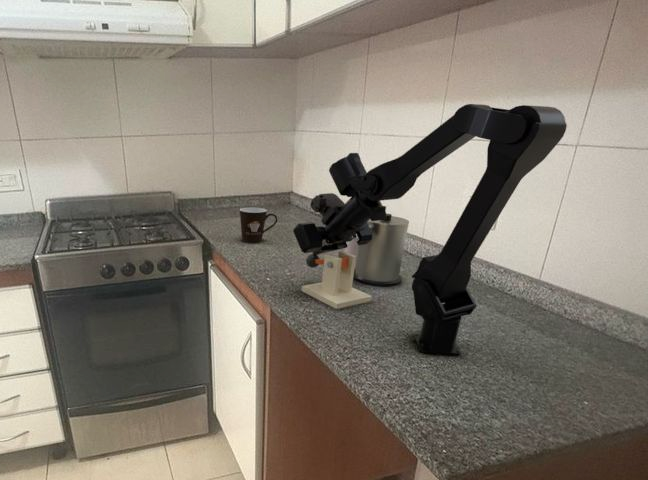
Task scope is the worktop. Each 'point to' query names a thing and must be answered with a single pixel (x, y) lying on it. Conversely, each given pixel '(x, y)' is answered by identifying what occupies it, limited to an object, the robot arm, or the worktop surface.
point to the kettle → (382, 253)
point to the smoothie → (352, 248)
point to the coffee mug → (253, 224)
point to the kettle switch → (315, 261)
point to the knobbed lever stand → (337, 283)
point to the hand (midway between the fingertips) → (314, 253)
